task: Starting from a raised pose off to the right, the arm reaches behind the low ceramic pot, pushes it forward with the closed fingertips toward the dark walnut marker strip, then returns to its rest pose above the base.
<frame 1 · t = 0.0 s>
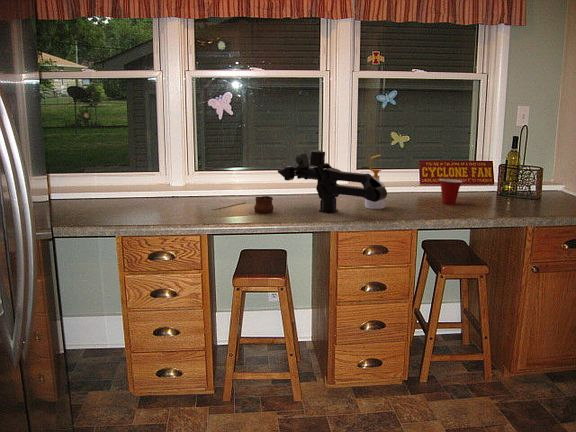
hand: (284, 170, 257), 17 cm above the counter, tool horizontal, fingers open, 9 cm apart
plastic cup: (449, 204, 265), on the counter
soap bottle: (374, 207, 255), on the counter
ceramic pot: (263, 213, 244), on the counter
marker strip: (229, 206, 256), on the counter
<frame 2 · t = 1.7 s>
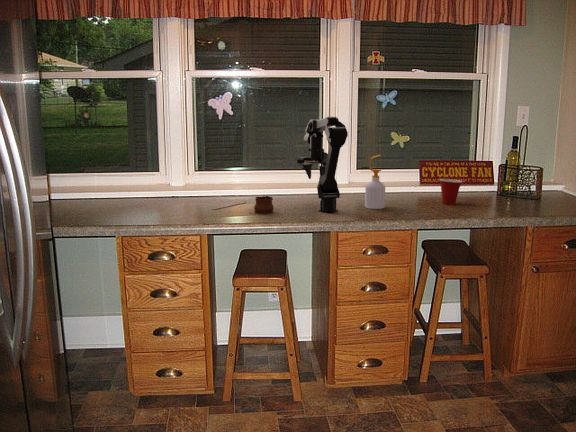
hand: (315, 179, 259), 12 cm above the counter, tool pointing down, fingers open, 6 cm apart
nothing on the counter moved.
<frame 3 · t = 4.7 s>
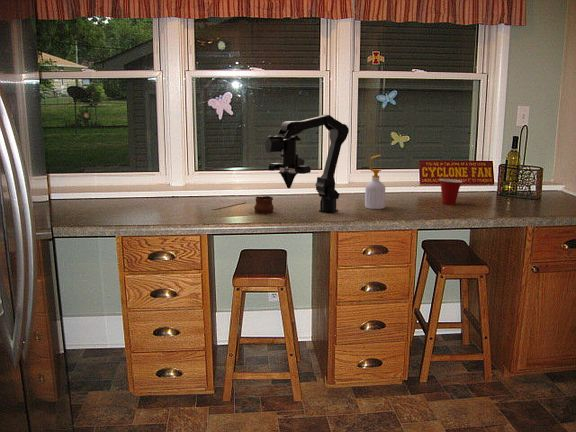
hand: (288, 188, 233), 12 cm above the counter, tool pointing down, fingers closed
nothing on the counter moved.
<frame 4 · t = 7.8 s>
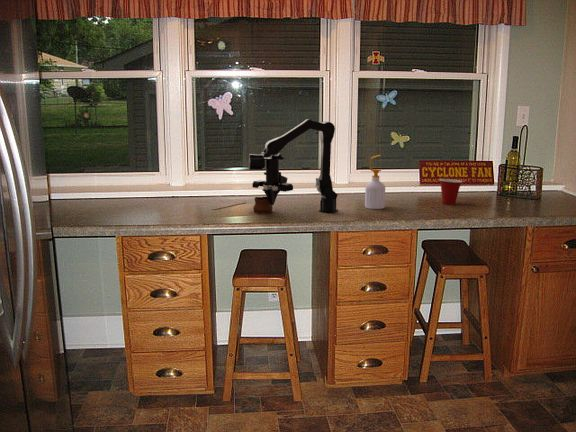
hand: (272, 205, 240), 4 cm above the counter, tool pointing down, fingers closed
ceramic pot: (263, 213, 245), on the counter, touching gripper
everything else where it was.
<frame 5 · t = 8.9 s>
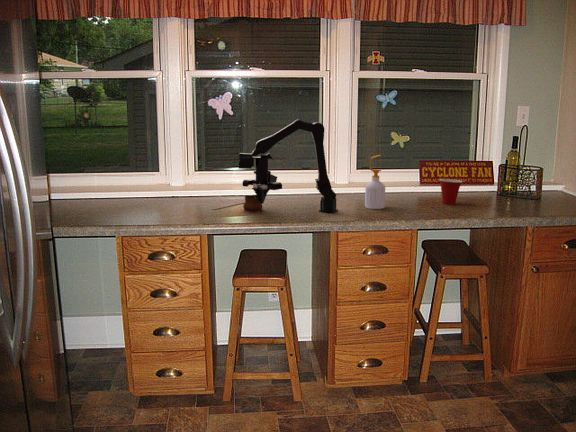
hand: (262, 203, 244), 4 cm above the counter, tool pointing down, fingers closed
ceramic pot: (253, 211, 248), on the counter, touching gripper
everything else where it was.
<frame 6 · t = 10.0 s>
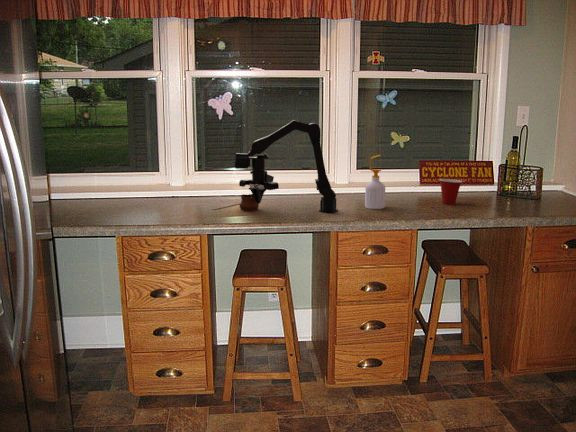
hand: (258, 203, 245), 4 cm above the counter, tool pointing down, fingers closed
ceramic pot: (249, 210, 249), on the counter
everything else where it was.
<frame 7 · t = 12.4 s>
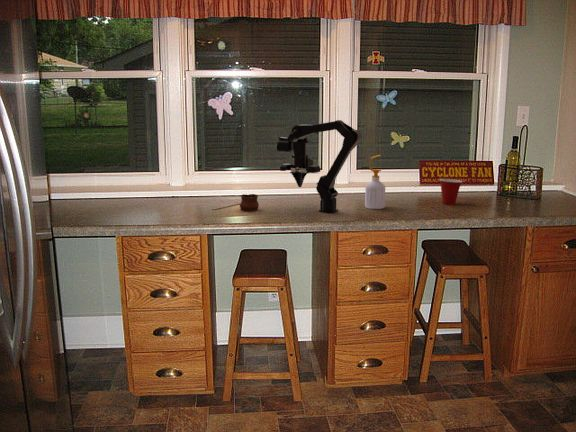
hand: (299, 187, 249), 10 cm above the counter, tool pointing down, fingers closed
nothing on the counter moved.
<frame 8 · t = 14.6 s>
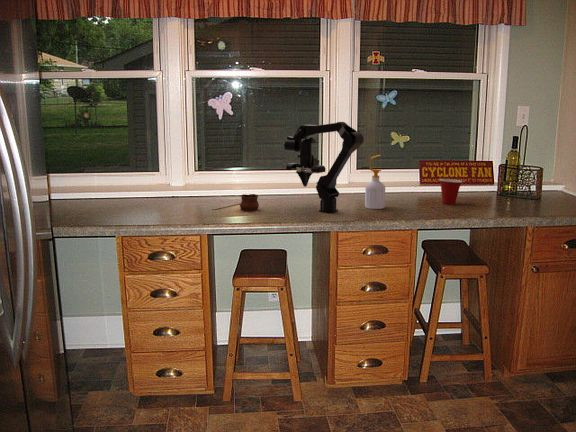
hand: (305, 186, 251), 10 cm above the counter, tool pointing down, fingers closed
nothing on the counter moved.
at the end: ceramic pot moved 8.9 cm from its start; ceramic pot inside the target area (0.4 cm from its centre), on the counter; ceramic pot tilted 0° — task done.
